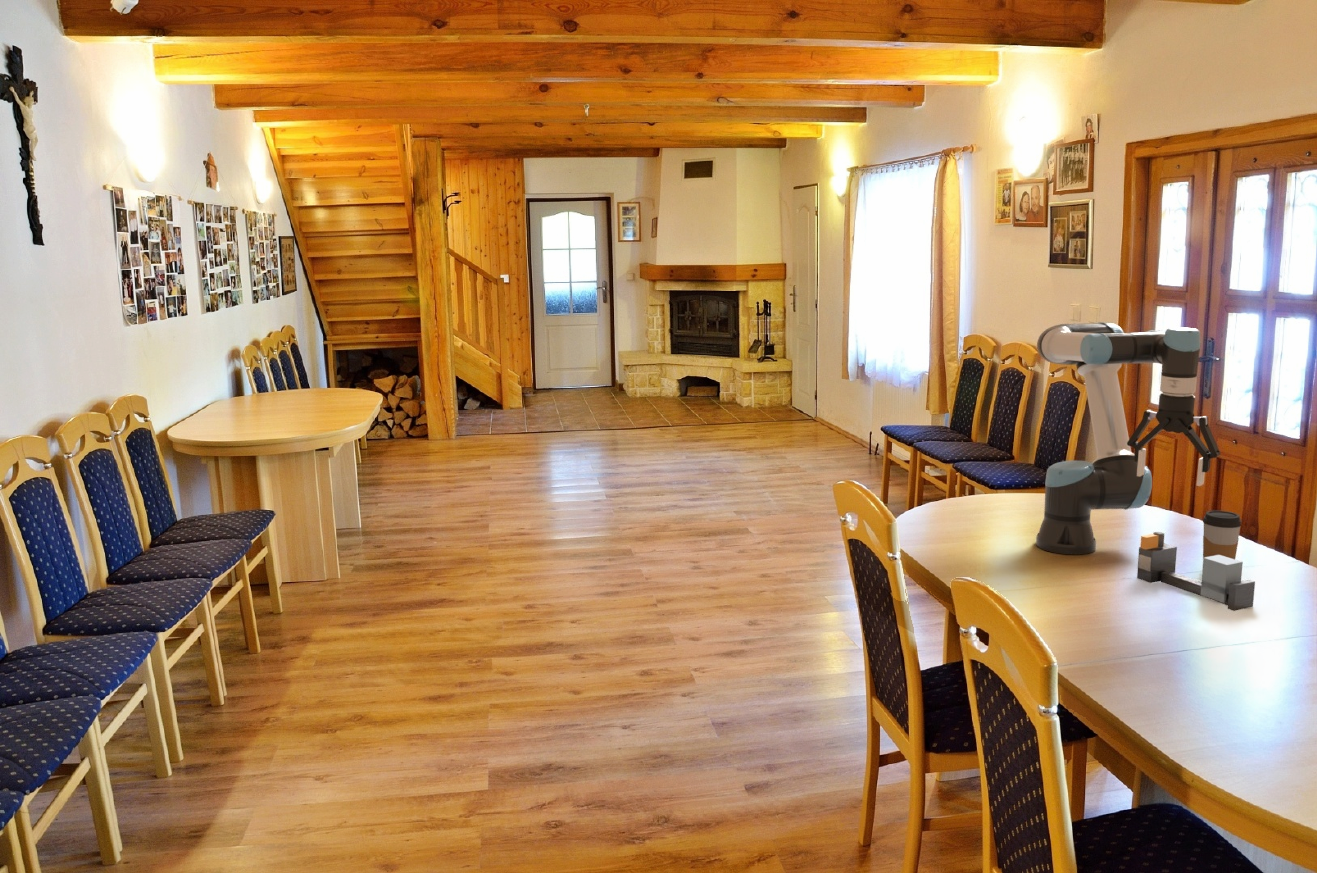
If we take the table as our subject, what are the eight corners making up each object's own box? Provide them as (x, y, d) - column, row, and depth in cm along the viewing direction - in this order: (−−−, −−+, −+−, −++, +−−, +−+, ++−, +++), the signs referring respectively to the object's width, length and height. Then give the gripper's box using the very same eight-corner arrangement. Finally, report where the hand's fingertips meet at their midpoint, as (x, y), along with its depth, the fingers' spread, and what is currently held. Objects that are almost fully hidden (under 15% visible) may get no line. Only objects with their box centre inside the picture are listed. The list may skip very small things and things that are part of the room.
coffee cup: (1242, 578, 241) (1247, 519, 238) (1205, 577, 242) (1209, 518, 240) (1230, 567, 249) (1235, 510, 246) (1194, 566, 250) (1198, 509, 248)
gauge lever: (1138, 547, 240) (1139, 534, 240) (1157, 544, 242) (1158, 531, 242) (1146, 550, 238) (1147, 537, 237) (1165, 546, 240) (1166, 534, 240)
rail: (1160, 582, 240) (1161, 572, 239) (1167, 580, 241) (1168, 570, 240) (1231, 606, 222) (1232, 596, 222) (1239, 605, 223) (1240, 594, 223)
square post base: (1227, 608, 221) (1229, 583, 220) (1246, 604, 224) (1248, 579, 222) (1234, 611, 220) (1236, 585, 219) (1252, 606, 222) (1255, 581, 221)
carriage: (1200, 594, 228) (1203, 557, 226) (1215, 591, 230) (1218, 554, 228) (1223, 603, 223) (1226, 565, 221) (1239, 599, 224) (1242, 561, 223)
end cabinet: (1136, 578, 243) (1138, 547, 241) (1160, 573, 246) (1163, 542, 244) (1150, 583, 239) (1152, 551, 238) (1174, 578, 242) (1176, 547, 241)
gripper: (1117, 390, 239) (1110, 474, 244) (1230, 401, 222) (1221, 492, 226) (1129, 385, 244) (1122, 468, 249) (1240, 397, 227) (1231, 485, 231)
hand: (1169, 480), depth 238 cm, fingers open, 13 cm apart
